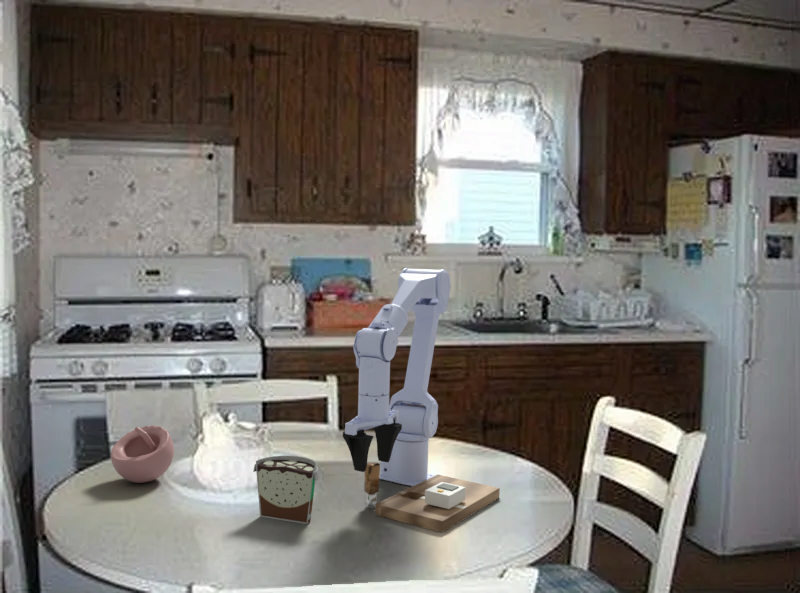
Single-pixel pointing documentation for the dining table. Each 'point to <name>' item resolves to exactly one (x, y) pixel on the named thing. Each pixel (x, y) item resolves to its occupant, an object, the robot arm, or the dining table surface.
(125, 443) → the mortar and pestle
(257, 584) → the dining table surface
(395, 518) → the board
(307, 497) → the food container
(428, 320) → the robot arm
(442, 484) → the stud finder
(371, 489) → the brown translucent cylinder
